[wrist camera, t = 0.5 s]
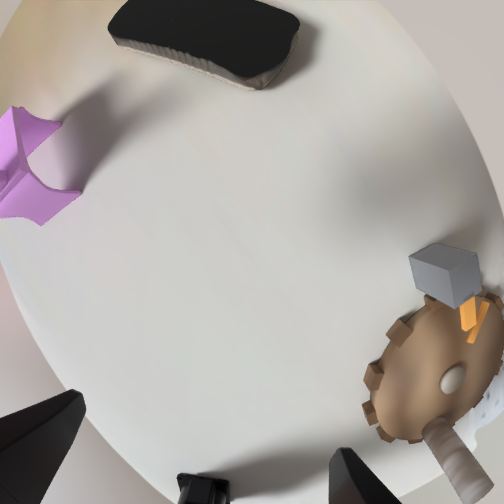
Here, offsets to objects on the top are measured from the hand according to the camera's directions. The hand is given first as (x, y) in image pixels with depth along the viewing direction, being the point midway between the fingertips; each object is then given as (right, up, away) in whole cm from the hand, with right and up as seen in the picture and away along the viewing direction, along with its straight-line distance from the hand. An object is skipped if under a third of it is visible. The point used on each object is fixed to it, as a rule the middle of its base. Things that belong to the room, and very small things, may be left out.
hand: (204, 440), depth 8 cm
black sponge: (-3, +25, +12) cm, 28 cm away
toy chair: (-18, +14, +14) cm, 27 cm away
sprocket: (+21, -6, +15) cm, 27 cm away
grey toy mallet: (+17, +4, +14) cm, 22 cm away
